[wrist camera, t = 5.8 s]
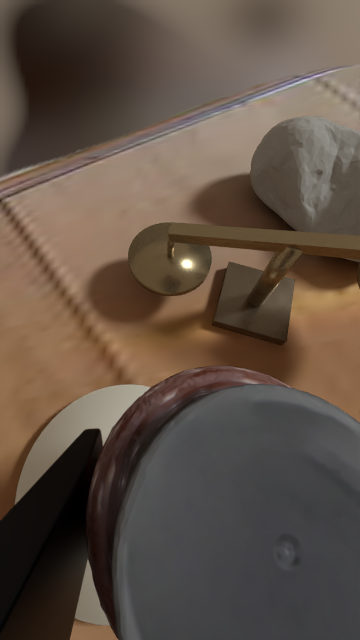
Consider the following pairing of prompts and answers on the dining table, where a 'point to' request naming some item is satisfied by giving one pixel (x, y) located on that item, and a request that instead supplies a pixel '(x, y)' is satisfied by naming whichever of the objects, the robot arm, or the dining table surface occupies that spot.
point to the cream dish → (56, 438)
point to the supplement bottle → (228, 513)
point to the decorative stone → (310, 175)
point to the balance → (233, 270)
